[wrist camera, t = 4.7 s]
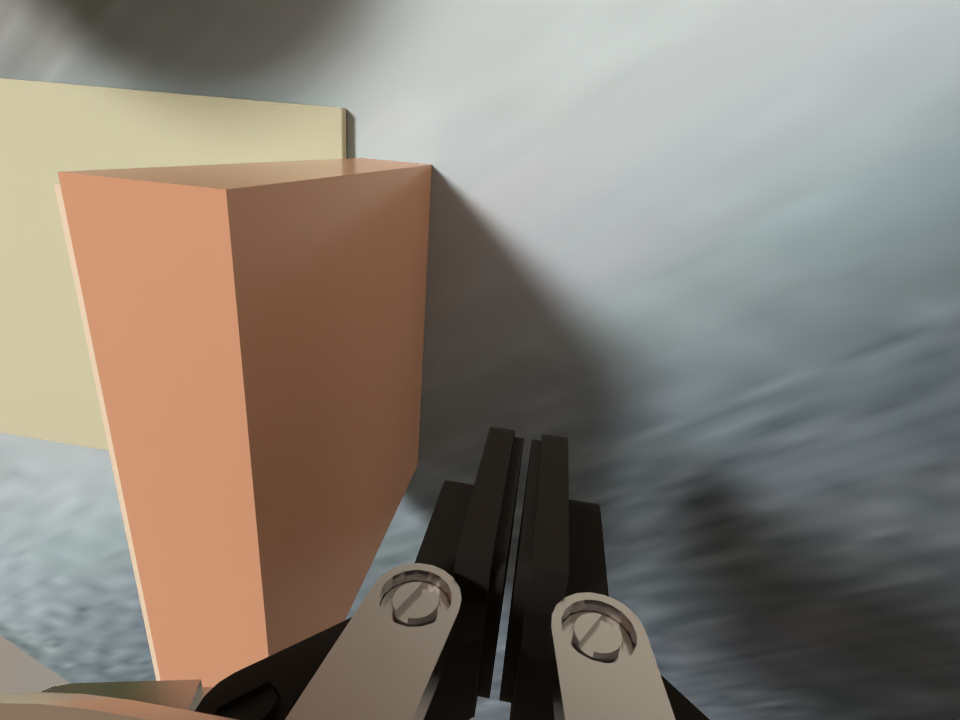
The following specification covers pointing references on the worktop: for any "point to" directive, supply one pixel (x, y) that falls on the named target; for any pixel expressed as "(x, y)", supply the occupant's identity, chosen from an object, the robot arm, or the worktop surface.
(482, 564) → the robot arm
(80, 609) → the worktop surface
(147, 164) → the mat
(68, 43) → the worktop surface
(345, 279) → the tile
